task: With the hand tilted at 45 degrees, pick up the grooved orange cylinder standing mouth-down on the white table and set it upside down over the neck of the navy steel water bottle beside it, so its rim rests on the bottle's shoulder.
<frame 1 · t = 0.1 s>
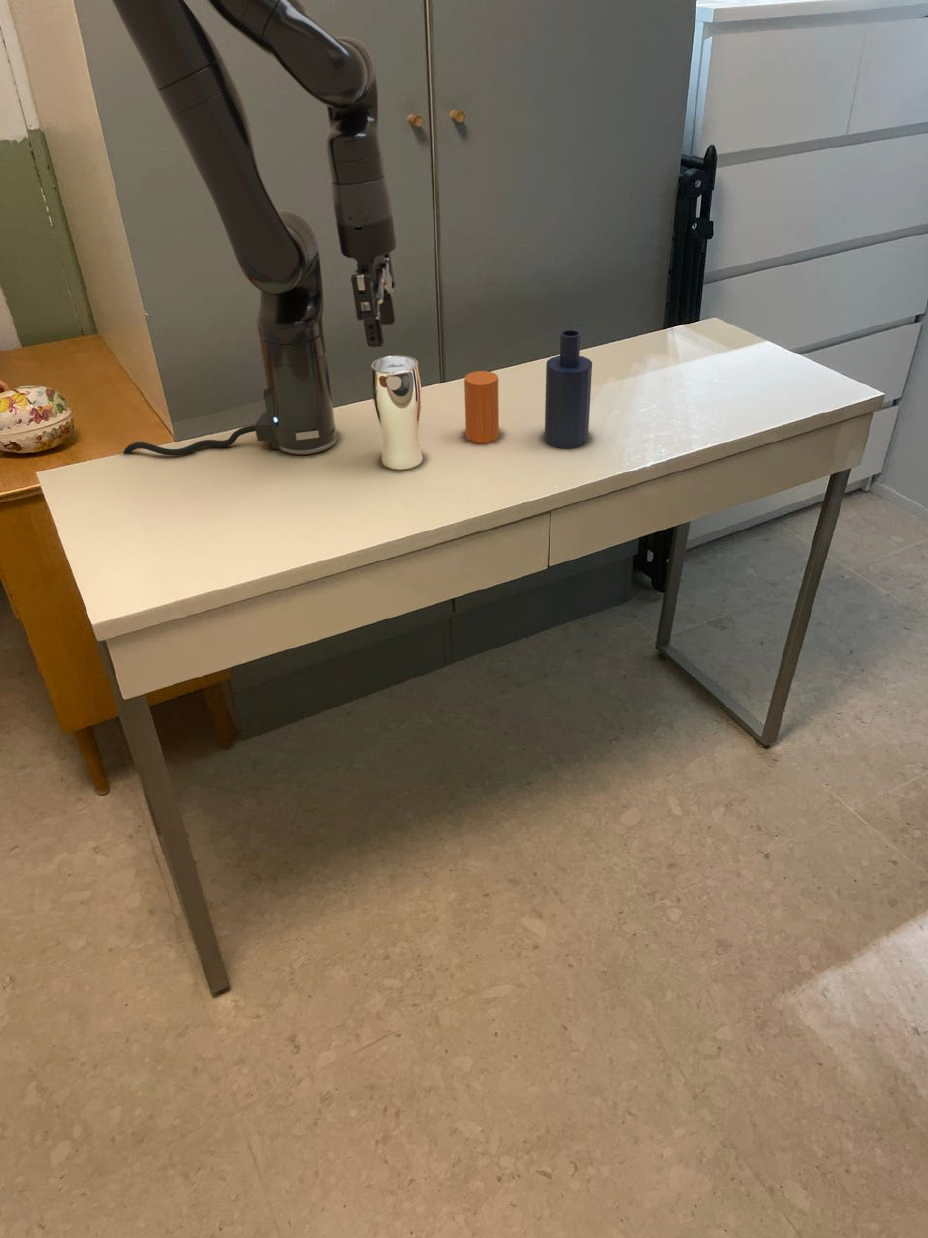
hand: (382, 334, 133), 17 cm above the table, tool pointing down, fingers open, 8 cm apart
silver metal tumbler: (402, 461, 139), on the table
grooved orange cylinder: (482, 435, 145), on the table
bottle: (566, 438, 143), on the table
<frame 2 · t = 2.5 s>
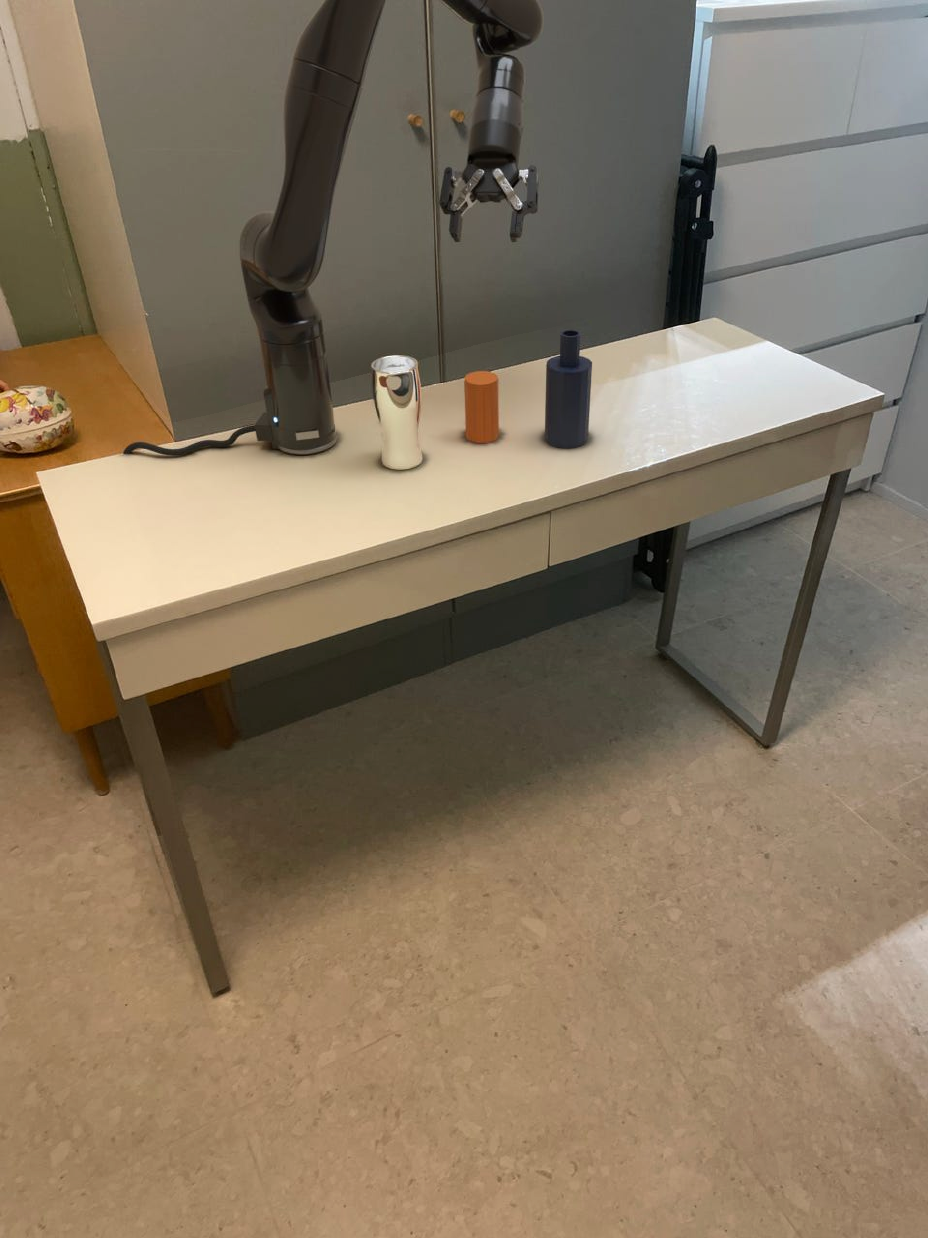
hand: (484, 239, 136), 27 cm above the table, tool tilted 40°, fingers open, 8 cm apart
nothing on the table moved.
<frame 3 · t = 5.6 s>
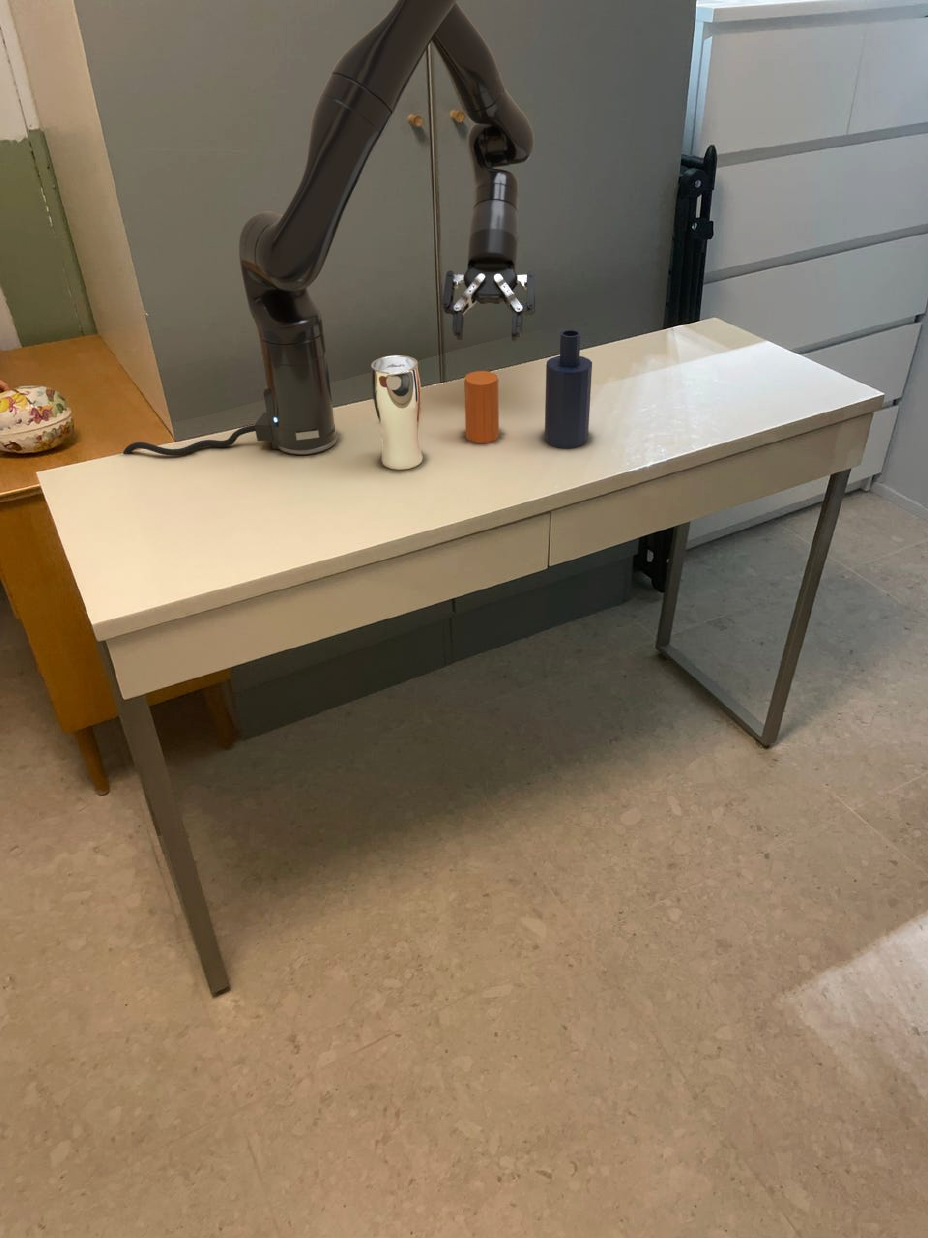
hand: (486, 338, 144), 13 cm above the table, tool tilted 45°, fingers open, 8 cm apart
nothing on the table moved.
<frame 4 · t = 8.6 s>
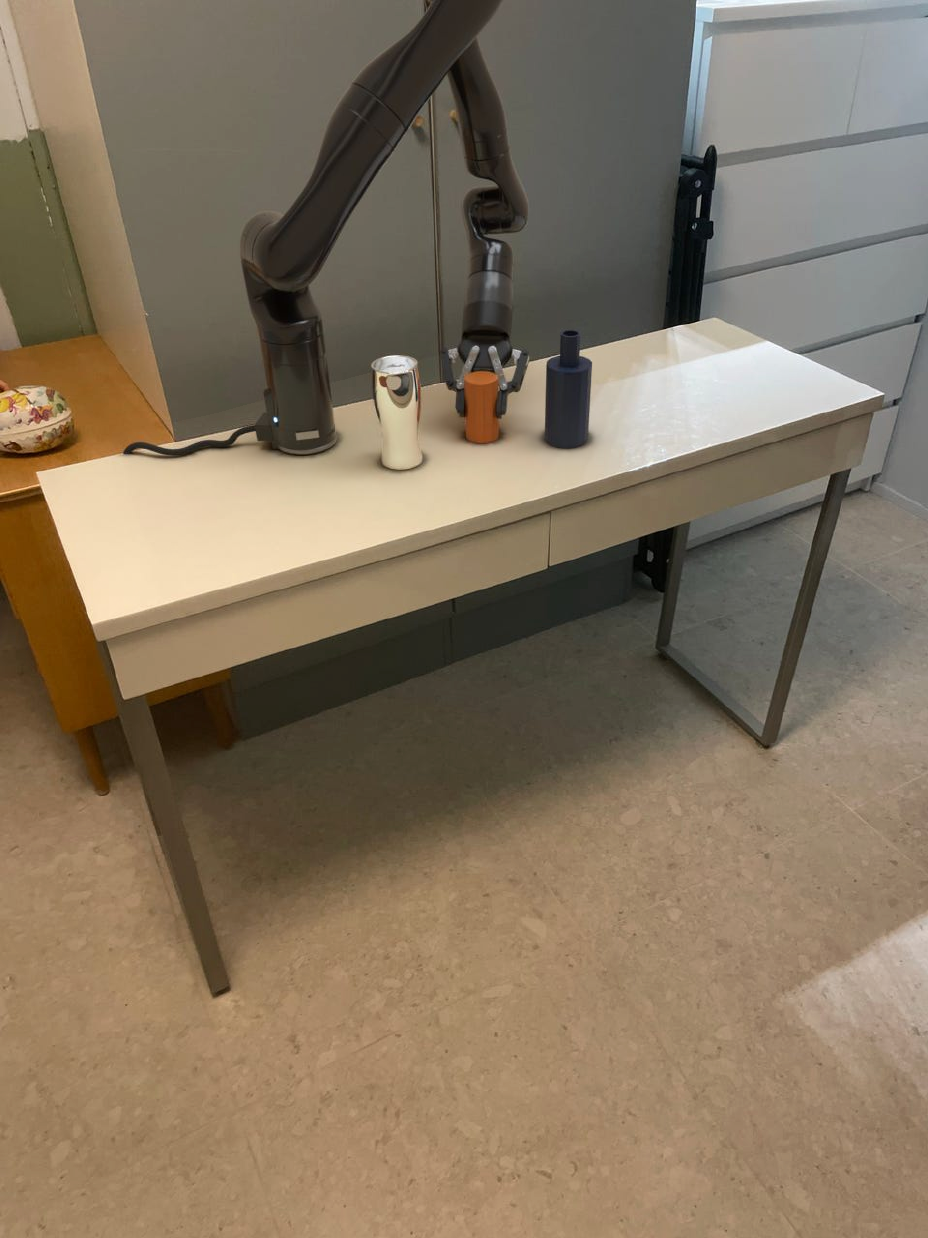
hand: (480, 415, 141), 4 cm above the table, tool tilted 45°, fingers closed on grooved orange cylinder, 5 cm apart
grooved orange cylinder: (482, 435, 145), on the table, touching gripper
everything else where it was.
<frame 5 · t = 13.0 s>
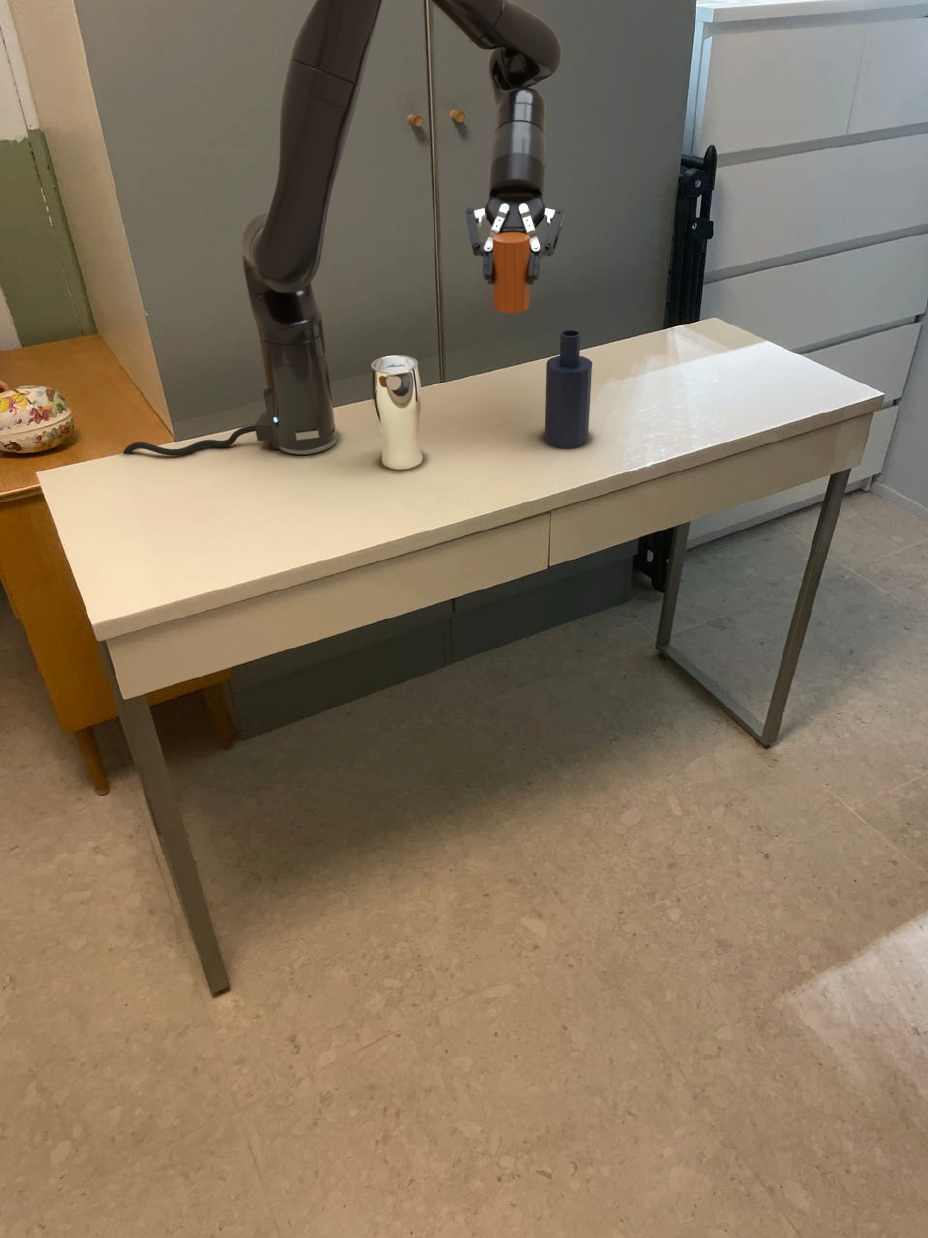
hand: (510, 281, 128), 24 cm above the table, tool tilted 45°, fingers closed on grooved orange cylinder, 5 cm apart
grooved orange cylinder: (511, 306, 132), point 20 cm above the table, touching gripper
everything else where it was.
when the fingers open (16 cm above the table, at t = 17.7 s): grooved orange cylinder stays where it is, resting on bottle.
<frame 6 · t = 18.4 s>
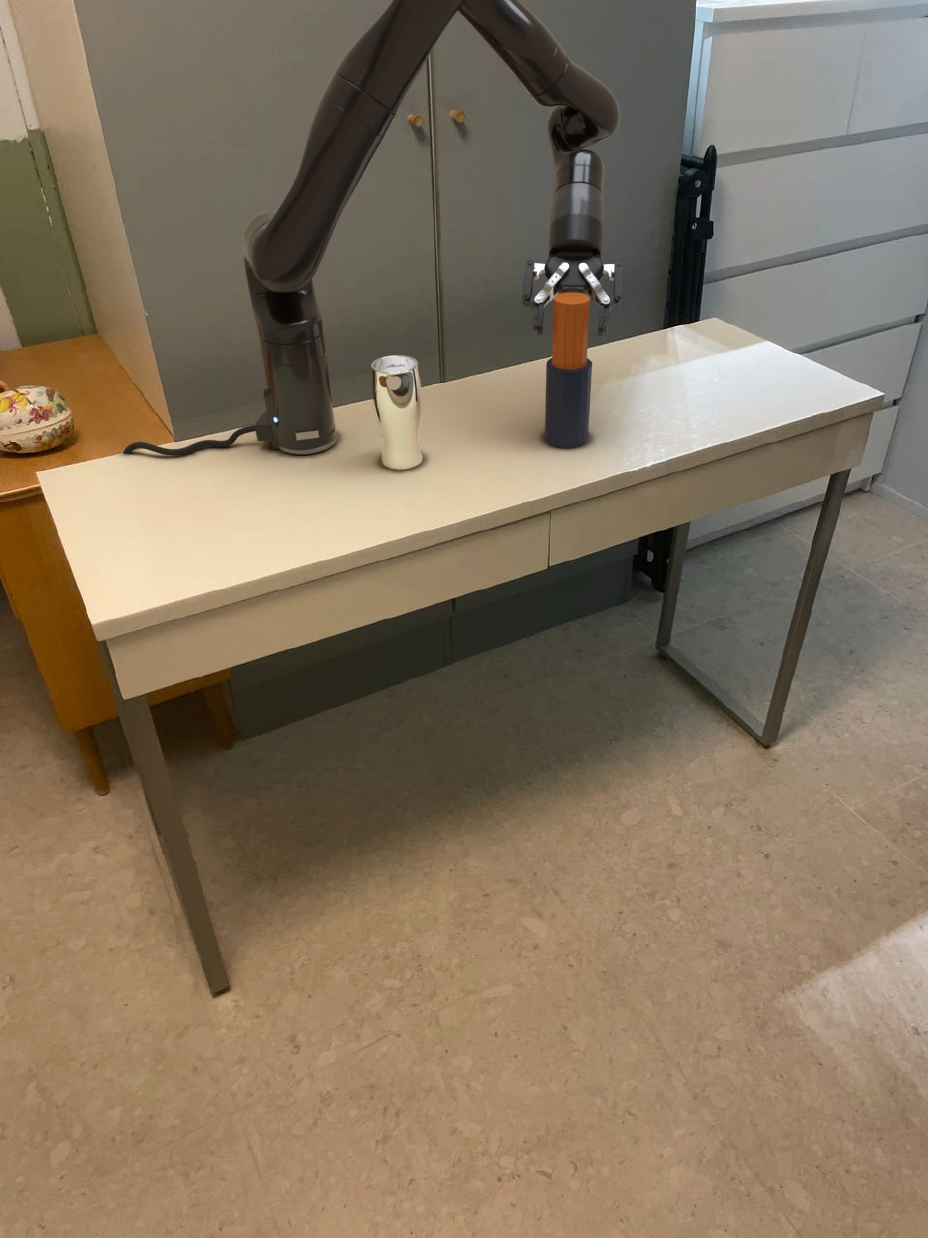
hand: (570, 333, 132), 17 cm above the table, tool tilted 45°, fingers open, 8 cm apart
grooved orange cylinder: (569, 363, 136), point 12 cm above the table, touching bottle
everything else where it was.
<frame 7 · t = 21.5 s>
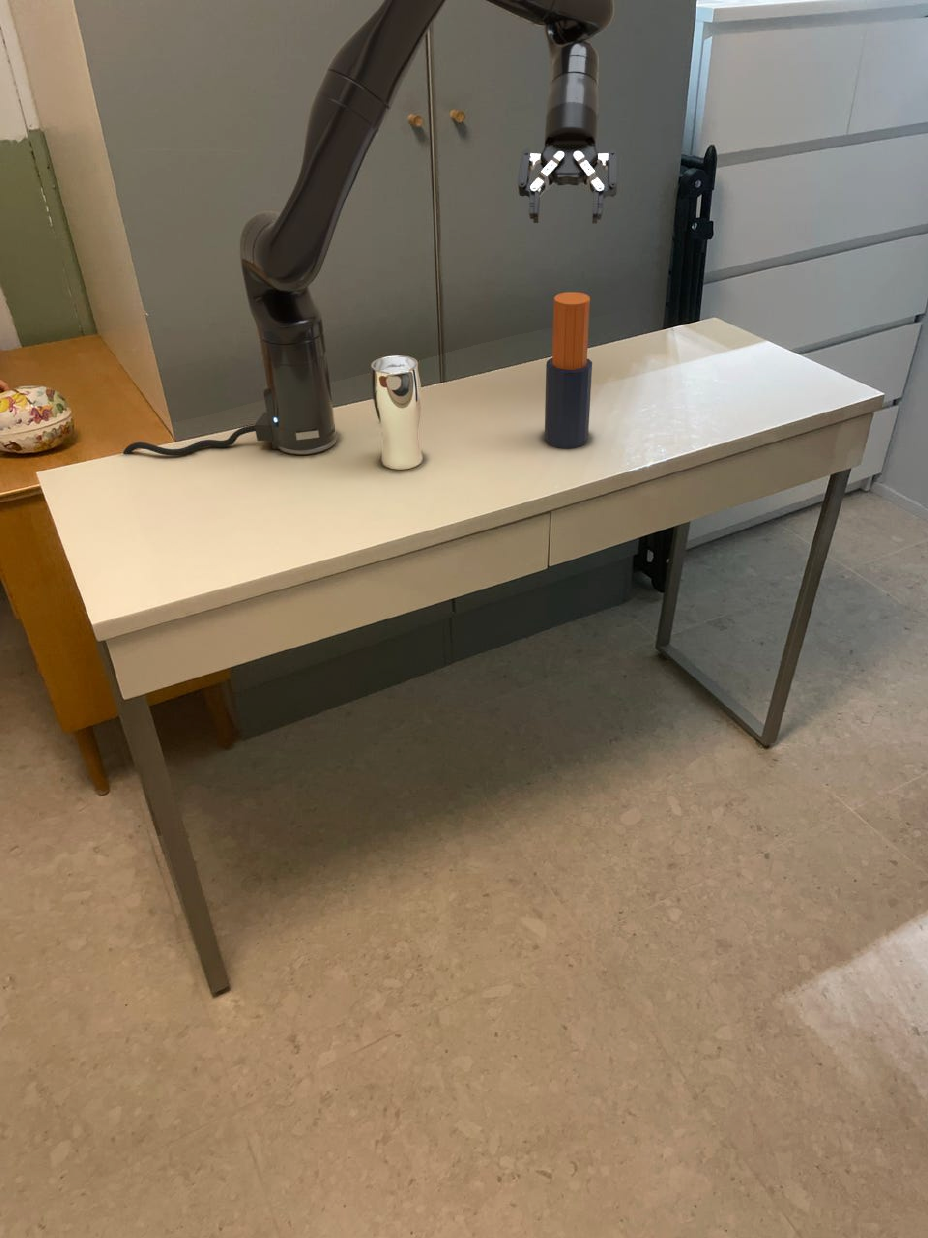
hand: (565, 220, 135), 29 cm above the table, tool tilted 45°, fingers open, 8 cm apart
nothing on the table moved.
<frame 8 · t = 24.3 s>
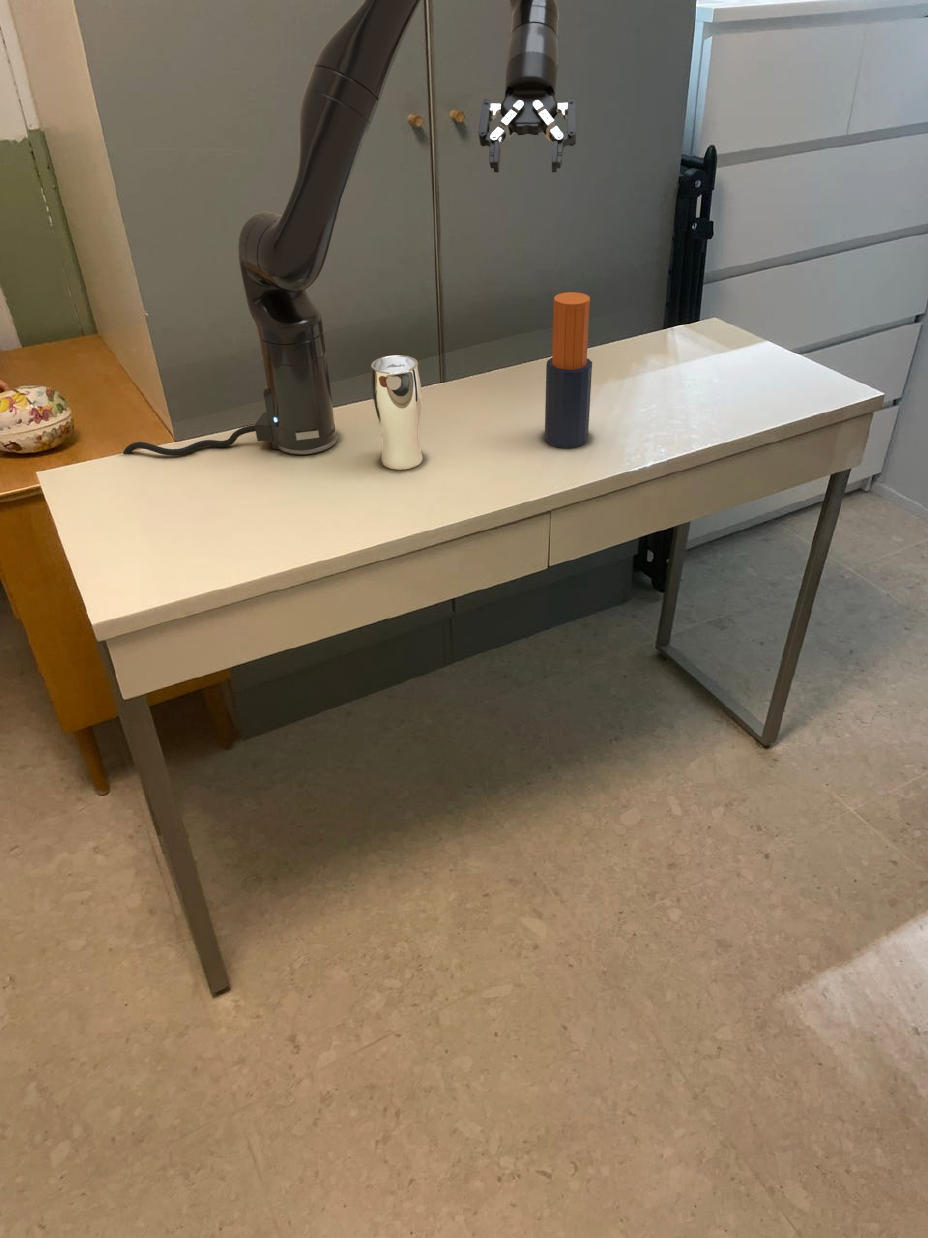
hand: (525, 168, 136), 35 cm above the table, tool tilted 45°, fingers open, 8 cm apart
nothing on the table moved.
at the end: grooved orange cylinder 0.0 cm off-centre in the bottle, point 12.0 cm above the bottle's base; grooved orange cylinder tilted 0°; the gripper is holding nothing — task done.
